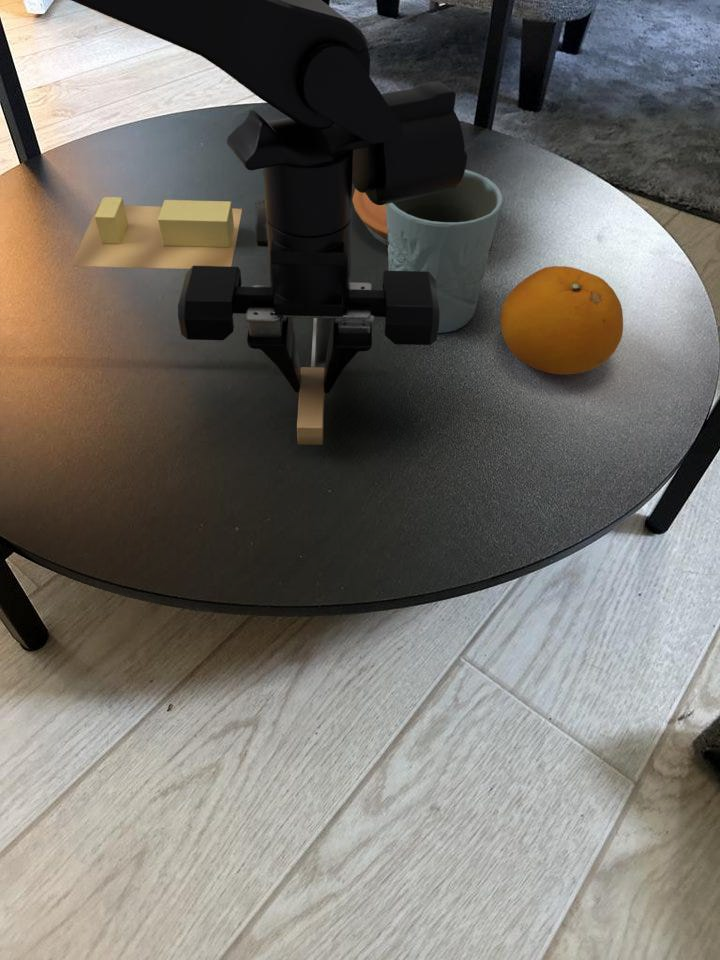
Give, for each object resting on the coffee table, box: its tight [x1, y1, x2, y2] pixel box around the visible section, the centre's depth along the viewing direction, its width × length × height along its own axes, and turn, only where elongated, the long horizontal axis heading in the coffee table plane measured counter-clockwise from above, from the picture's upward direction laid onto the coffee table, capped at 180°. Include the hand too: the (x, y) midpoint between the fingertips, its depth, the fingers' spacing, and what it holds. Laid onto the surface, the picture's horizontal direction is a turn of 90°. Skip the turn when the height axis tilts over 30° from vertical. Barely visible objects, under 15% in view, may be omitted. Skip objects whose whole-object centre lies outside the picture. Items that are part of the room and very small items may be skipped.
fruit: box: [500, 265, 624, 376], centre depth 66 cm, size 10×10×8 cm
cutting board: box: [70, 204, 243, 270], centre depth 78 cm, size 16×12×1 cm
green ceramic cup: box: [386, 169, 504, 334], centre depth 68 cm, size 10×10×12 cm
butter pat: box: [95, 196, 128, 244], centre depth 77 cm, size 2×4×3 cm, turn 0°
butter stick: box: [158, 199, 234, 247], centre depth 77 cm, size 7×4×3 cm, turn 90°
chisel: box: [296, 318, 326, 446], centre depth 63 cm, size 17×2×2 cm, turn 0°
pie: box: [352, 187, 389, 246], centre depth 80 cm, size 16×16×5 cm
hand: (312, 389), depth 61 cm, fingers closed on chisel, 2 cm apart
